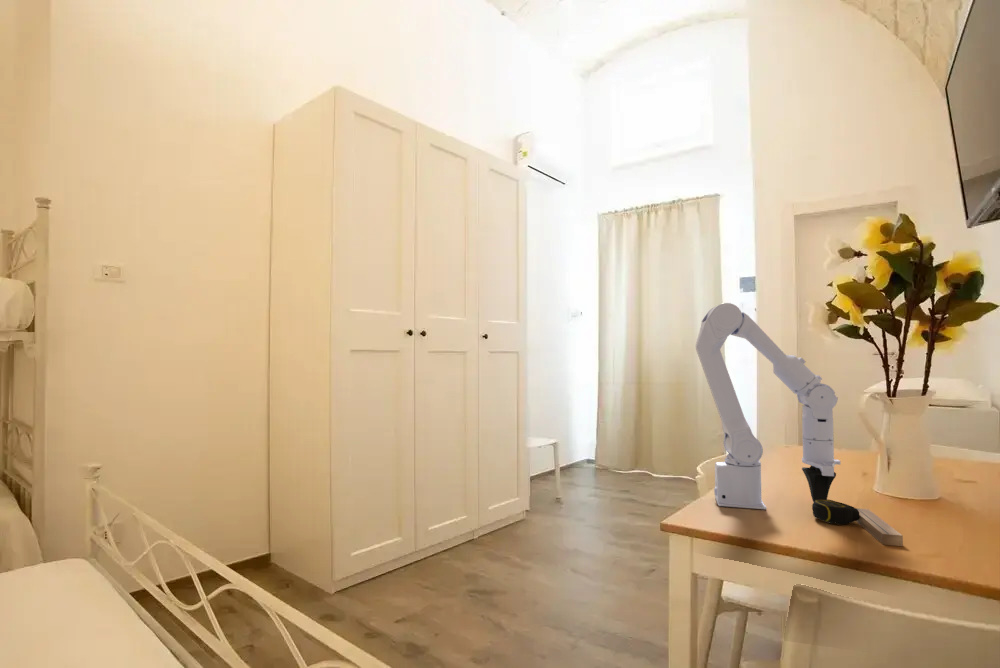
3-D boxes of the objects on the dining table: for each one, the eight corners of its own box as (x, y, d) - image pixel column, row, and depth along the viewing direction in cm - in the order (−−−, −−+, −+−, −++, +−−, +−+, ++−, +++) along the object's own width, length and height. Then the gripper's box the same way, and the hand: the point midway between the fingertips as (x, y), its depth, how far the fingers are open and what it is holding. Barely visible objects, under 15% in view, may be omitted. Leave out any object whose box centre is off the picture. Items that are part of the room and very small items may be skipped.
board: (882, 544, 93) (882, 533, 93) (851, 516, 108) (851, 507, 108) (903, 546, 92) (902, 535, 92) (868, 518, 107) (868, 508, 107)
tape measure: (862, 525, 103) (861, 506, 103) (834, 529, 101) (834, 509, 101) (830, 515, 110) (830, 497, 110) (804, 518, 108) (803, 499, 108)
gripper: (850, 445, 106) (852, 514, 106) (829, 434, 120) (830, 495, 120) (810, 443, 108) (812, 511, 108) (793, 433, 122) (795, 493, 122)
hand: (819, 502), depth 114 cm, fingers closed
